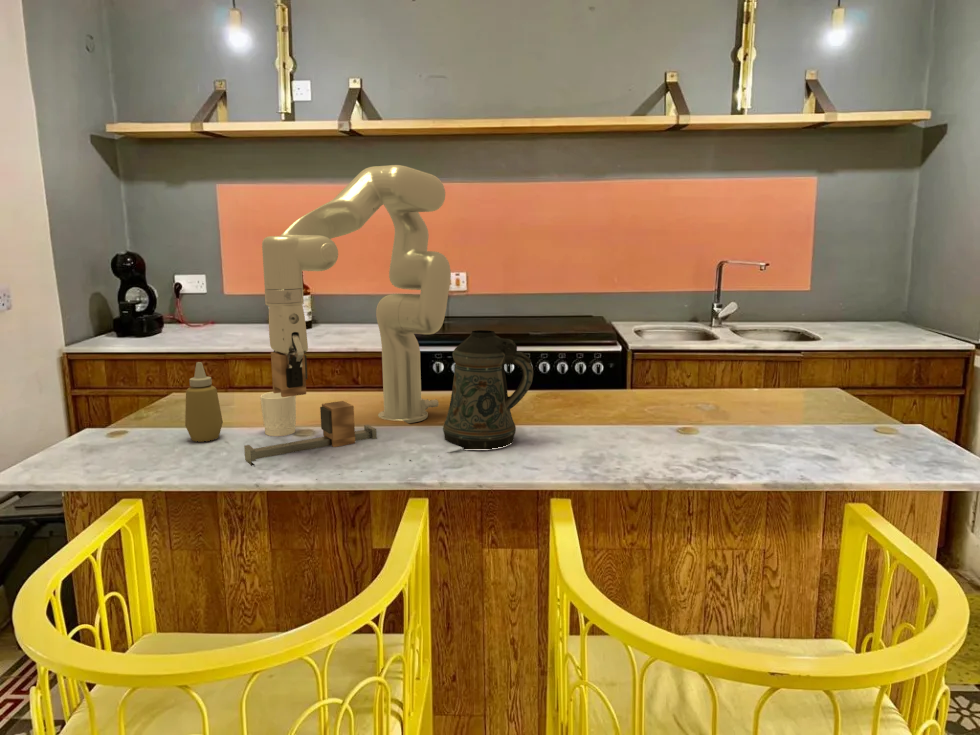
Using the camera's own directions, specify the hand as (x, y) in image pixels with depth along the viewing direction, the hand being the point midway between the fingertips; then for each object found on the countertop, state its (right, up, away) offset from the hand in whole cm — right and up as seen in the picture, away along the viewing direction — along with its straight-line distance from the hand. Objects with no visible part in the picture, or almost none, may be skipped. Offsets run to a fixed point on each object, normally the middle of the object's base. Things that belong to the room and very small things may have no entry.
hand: (289, 383), depth 148 cm
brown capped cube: (0, -2, 0) cm, 2 cm away
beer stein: (+41, -13, +14) cm, 45 cm away
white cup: (-7, -13, +18) cm, 24 cm away
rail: (+3, -15, +6) cm, 17 cm away
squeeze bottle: (-24, -13, +17) cm, 32 cm away
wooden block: (+8, -13, +10) cm, 18 cm away
